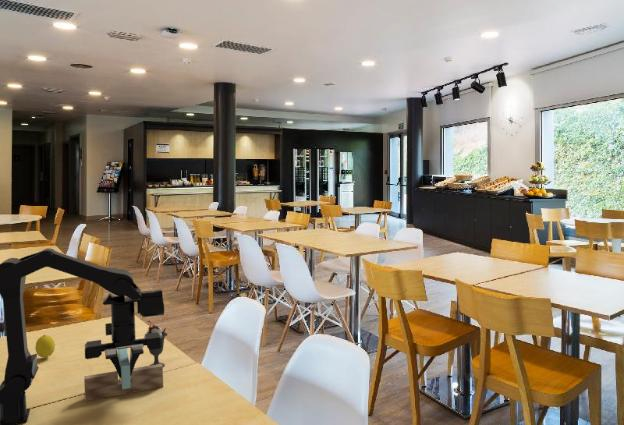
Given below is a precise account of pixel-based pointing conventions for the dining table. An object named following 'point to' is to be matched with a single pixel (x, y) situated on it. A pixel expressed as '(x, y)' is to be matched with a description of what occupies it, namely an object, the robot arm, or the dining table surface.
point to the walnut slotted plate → (111, 386)
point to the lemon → (45, 346)
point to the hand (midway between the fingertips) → (125, 376)
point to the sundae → (158, 351)
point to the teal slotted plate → (124, 368)
